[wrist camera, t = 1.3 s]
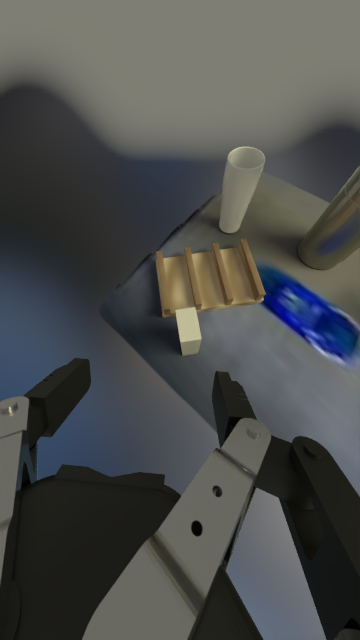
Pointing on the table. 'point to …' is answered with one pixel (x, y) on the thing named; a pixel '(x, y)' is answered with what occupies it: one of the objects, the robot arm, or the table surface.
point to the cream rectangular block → (188, 330)
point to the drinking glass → (239, 186)
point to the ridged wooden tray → (208, 279)
